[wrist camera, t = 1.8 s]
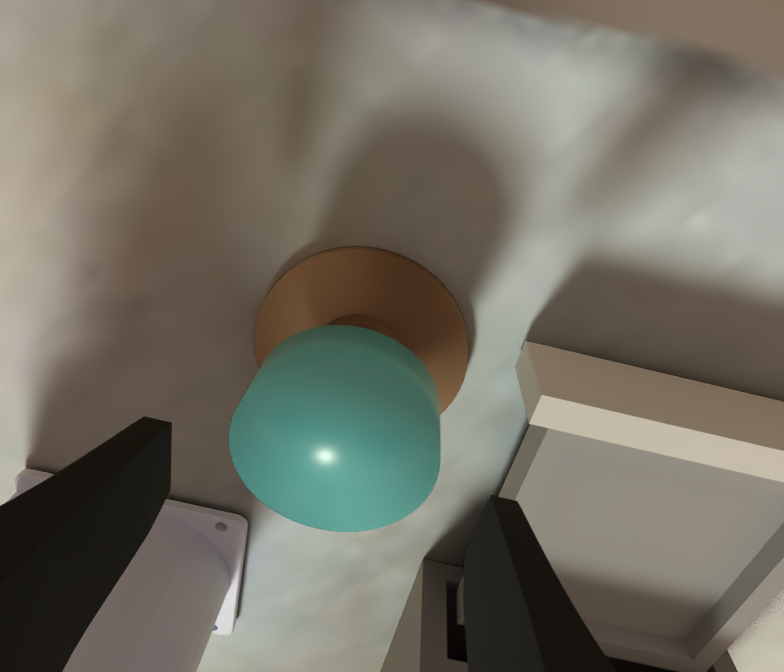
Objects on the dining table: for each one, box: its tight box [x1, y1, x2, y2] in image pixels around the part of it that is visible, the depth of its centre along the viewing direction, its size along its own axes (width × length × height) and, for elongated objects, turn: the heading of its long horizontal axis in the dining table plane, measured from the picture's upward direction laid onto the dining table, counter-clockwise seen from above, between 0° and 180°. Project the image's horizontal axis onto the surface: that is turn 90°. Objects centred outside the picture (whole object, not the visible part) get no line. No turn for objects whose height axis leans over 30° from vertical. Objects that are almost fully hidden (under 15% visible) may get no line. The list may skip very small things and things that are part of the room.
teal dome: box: [229, 325, 440, 532], centre depth 14 cm, size 5×5×2 cm
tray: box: [456, 341, 784, 672], centre depth 18 cm, size 12×12×3 cm
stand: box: [254, 246, 468, 414], centre depth 16 cm, size 7×7×4 cm
